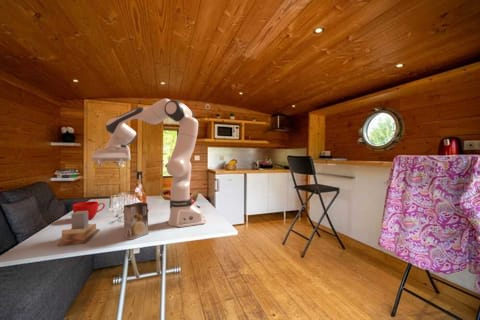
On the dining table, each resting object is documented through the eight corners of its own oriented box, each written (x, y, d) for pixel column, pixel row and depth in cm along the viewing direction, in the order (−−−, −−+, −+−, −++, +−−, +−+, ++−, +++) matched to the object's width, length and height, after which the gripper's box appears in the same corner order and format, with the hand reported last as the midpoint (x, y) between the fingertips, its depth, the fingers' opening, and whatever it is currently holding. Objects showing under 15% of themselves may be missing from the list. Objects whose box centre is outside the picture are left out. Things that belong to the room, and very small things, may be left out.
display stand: (99, 231, 112) (99, 219, 112) (85, 243, 96) (85, 229, 96) (75, 233, 109) (75, 220, 109) (57, 246, 94) (57, 231, 93)
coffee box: (141, 231, 111) (140, 201, 111) (148, 234, 108) (148, 203, 107) (123, 237, 103) (123, 205, 103) (131, 240, 100) (130, 207, 99)
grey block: (88, 226, 106) (88, 210, 105) (83, 229, 101) (83, 213, 101) (77, 227, 104) (76, 211, 104) (71, 230, 99) (71, 214, 99)
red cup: (108, 217, 136) (108, 202, 135) (76, 224, 123) (75, 207, 122) (101, 213, 144) (101, 199, 144) (70, 219, 131) (70, 204, 131)
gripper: (93, 145, 127) (86, 162, 117) (131, 145, 132) (127, 161, 123) (96, 152, 131) (90, 169, 122) (132, 152, 136) (129, 168, 127)
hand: (109, 165), depth 122 cm, fingers open, 8 cm apart
